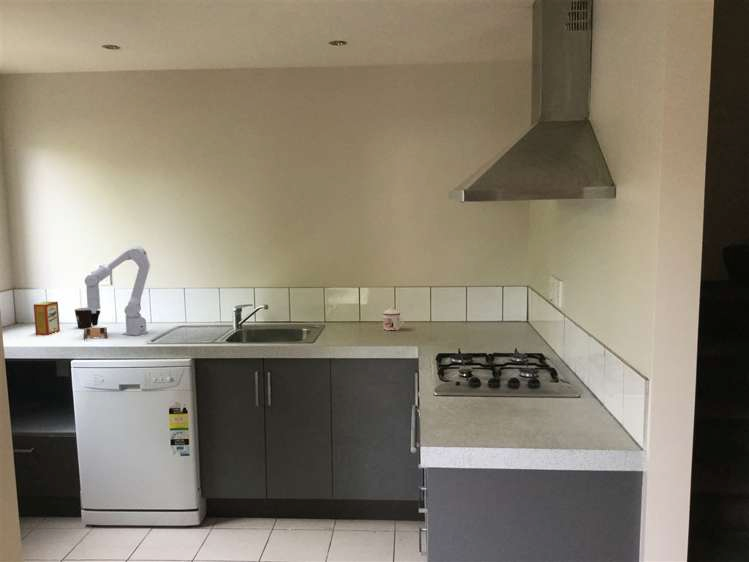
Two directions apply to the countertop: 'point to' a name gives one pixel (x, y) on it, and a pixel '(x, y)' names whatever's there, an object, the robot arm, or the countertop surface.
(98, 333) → the terracotta block
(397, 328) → the teacup with lid
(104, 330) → the wooden frame
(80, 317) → the coffee mug
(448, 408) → the countertop surface
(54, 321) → the baking soda box
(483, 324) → the countertop surface
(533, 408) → the countertop surface
